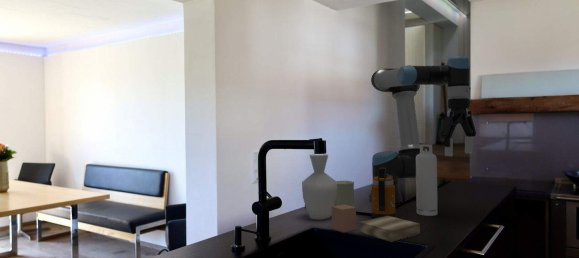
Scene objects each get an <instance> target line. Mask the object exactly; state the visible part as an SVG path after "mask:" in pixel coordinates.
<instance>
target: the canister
mask: <svg viewBox="0 0 579 258" xmlns="http://www.w3.org/2000/svg"><path fill="white" fill-rule="evenodd" d="M386 171H387V169H386V167H380V169H379V172H378V176H377V177H374V178H373V177H372V184H371V186H370V187H371V189H370V192H371V191H372V202H371V217H373V219H376V218H380V217H385V216H391V217H395V218H396V204H395V186H394V185H393V178H392V176H391V175H389V177H388V174H387V173H386ZM386 175H387V176H386Z"/></svg>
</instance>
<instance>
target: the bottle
mask: <svg viewBox="0 0 579 258" xmlns="http://www.w3.org/2000/svg"><path fill="white" fill-rule="evenodd" d="M424 147H427V148H424ZM428 149H429V150H428ZM415 188H416V189H415V194H416V201H415V202H416V214H418V215H419V216H427V217H428V216H429V217H430V216H433V217H434V216H437V215H438V158H437V156H436V154H434V153H433V144H428V143H427V144H423V143H422V144H420V154H418V155H417V156H416V178H415Z"/></svg>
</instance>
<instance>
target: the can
mask: <svg viewBox="0 0 579 258" xmlns="http://www.w3.org/2000/svg"><path fill="white" fill-rule="evenodd" d="M335 181H336V182H337V196H336V201H335V205H334V206H338V205H344V204H345V205H349V206H353V207H355V182H354V181H352V180H335Z"/></svg>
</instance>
